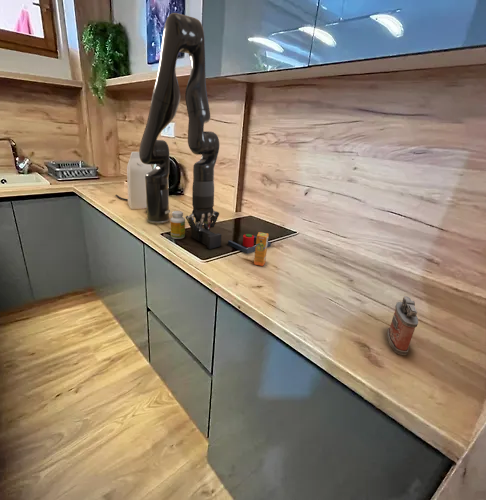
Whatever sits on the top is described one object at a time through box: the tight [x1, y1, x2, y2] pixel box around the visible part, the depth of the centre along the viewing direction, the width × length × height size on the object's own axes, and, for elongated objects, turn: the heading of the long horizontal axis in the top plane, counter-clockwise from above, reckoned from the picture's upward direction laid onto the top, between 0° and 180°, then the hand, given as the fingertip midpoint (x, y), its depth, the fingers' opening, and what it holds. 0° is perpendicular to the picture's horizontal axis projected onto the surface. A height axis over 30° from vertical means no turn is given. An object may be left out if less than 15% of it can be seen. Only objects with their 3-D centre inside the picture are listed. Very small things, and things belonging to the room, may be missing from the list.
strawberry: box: [242, 233, 255, 248], centre depth 110 cm, size 4×4×4 cm
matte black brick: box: [190, 227, 222, 250], centre depth 110 cm, size 14×5×4 cm, turn 39°
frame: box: [227, 234, 272, 255], centre depth 110 cm, size 10×12×2 cm
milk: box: [126, 151, 153, 210], centre depth 149 cm, size 12×12×26 cm
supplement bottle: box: [169, 210, 186, 240], centre depth 113 cm, size 5×5×10 cm
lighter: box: [386, 295, 419, 356], centre depth 62 cm, size 8×3×10 cm, turn 163°
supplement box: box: [253, 231, 270, 267], centre depth 94 cm, size 3×3×10 cm
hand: (202, 239), depth 112 cm, fingers closed on matte black brick, 2 cm apart
